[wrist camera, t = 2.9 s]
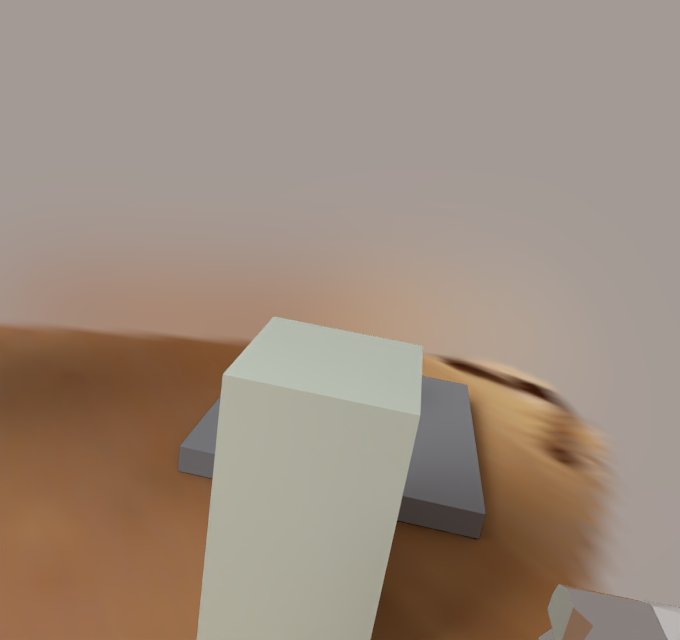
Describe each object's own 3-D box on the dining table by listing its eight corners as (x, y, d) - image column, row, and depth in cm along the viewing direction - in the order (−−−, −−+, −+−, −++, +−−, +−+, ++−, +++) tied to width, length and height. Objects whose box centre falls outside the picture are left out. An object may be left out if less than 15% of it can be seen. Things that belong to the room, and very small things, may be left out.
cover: (195, 650, 21) (222, 374, 17) (245, 541, 27) (273, 316, 23) (358, 692, 20) (420, 415, 17) (374, 571, 26) (422, 345, 23)
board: (177, 470, 31) (185, 367, 29) (261, 361, 46) (269, 289, 44) (478, 538, 29) (508, 435, 27) (462, 402, 44) (480, 329, 43)
